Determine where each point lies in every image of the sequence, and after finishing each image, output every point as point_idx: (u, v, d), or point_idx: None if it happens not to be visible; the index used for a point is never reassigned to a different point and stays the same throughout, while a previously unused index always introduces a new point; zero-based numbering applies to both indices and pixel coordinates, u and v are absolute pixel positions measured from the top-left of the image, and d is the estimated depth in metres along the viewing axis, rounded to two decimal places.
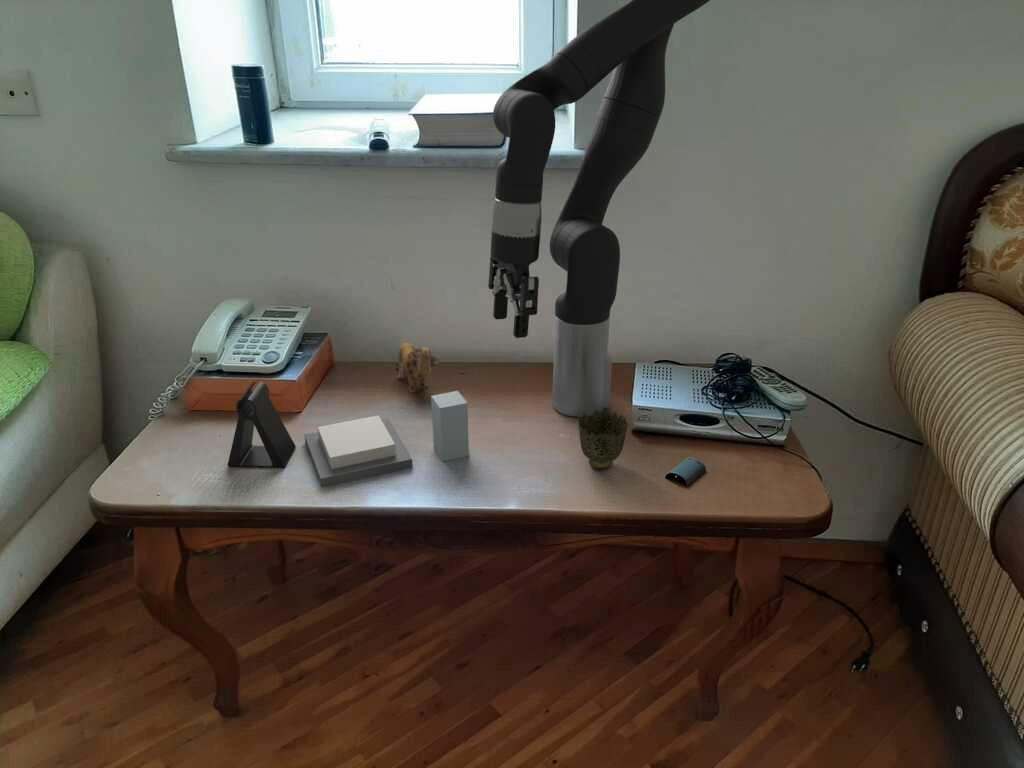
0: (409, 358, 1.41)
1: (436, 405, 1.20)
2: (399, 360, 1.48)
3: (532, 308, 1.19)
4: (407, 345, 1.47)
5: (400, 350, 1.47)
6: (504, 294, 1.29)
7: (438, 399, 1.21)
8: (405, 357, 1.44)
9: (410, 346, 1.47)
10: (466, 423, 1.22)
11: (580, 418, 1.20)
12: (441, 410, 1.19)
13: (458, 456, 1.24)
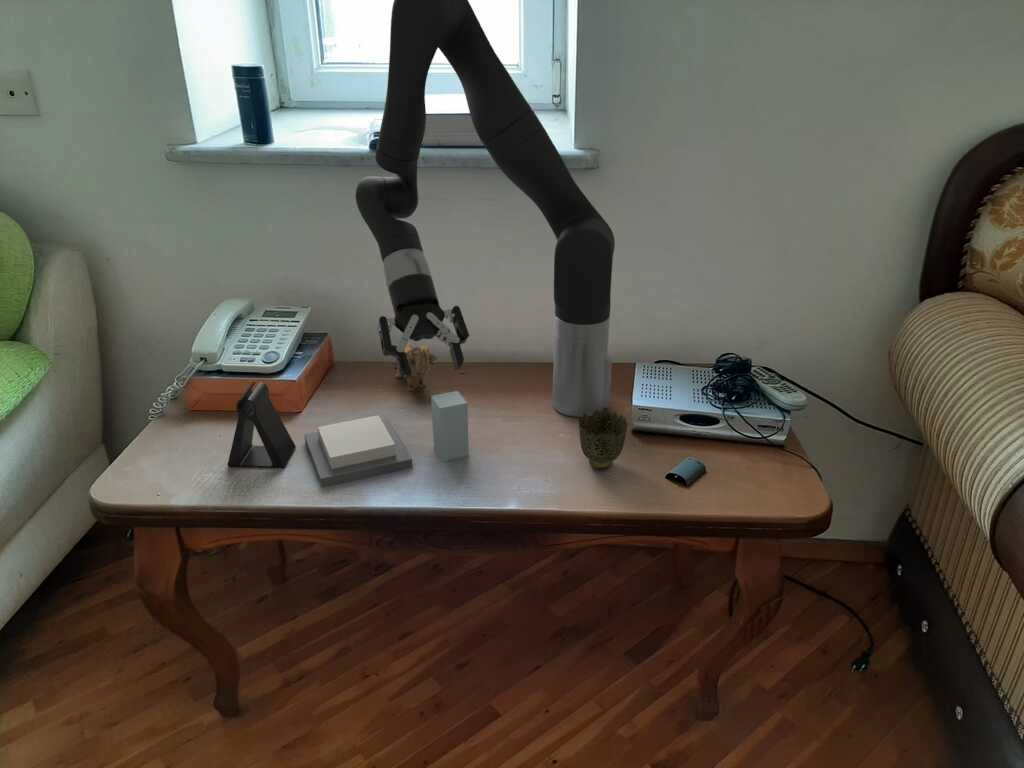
0: (408, 357, 1.42)
1: (436, 405, 1.20)
2: None
3: None
4: None
5: None
6: (451, 343, 1.29)
7: (438, 399, 1.21)
8: None
9: (408, 345, 1.47)
10: (466, 423, 1.22)
11: (580, 418, 1.20)
12: (441, 410, 1.19)
13: (458, 456, 1.24)
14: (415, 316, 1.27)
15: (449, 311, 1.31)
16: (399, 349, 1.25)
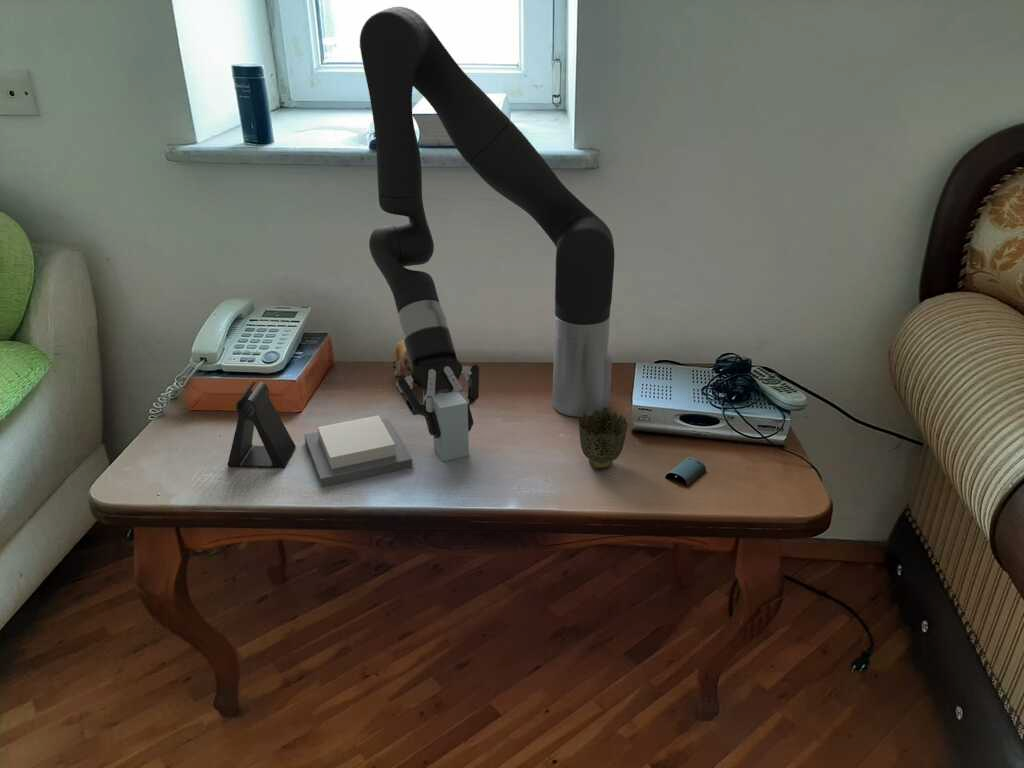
0: (407, 355, 1.42)
1: (436, 405, 1.20)
2: (396, 357, 1.49)
3: None
4: None
5: (397, 347, 1.48)
6: None
7: (438, 399, 1.21)
8: (402, 354, 1.45)
9: None
10: (466, 423, 1.22)
11: (580, 418, 1.20)
12: (441, 410, 1.19)
13: (458, 456, 1.24)
14: (432, 370, 1.23)
15: (468, 368, 1.27)
16: (429, 409, 1.22)
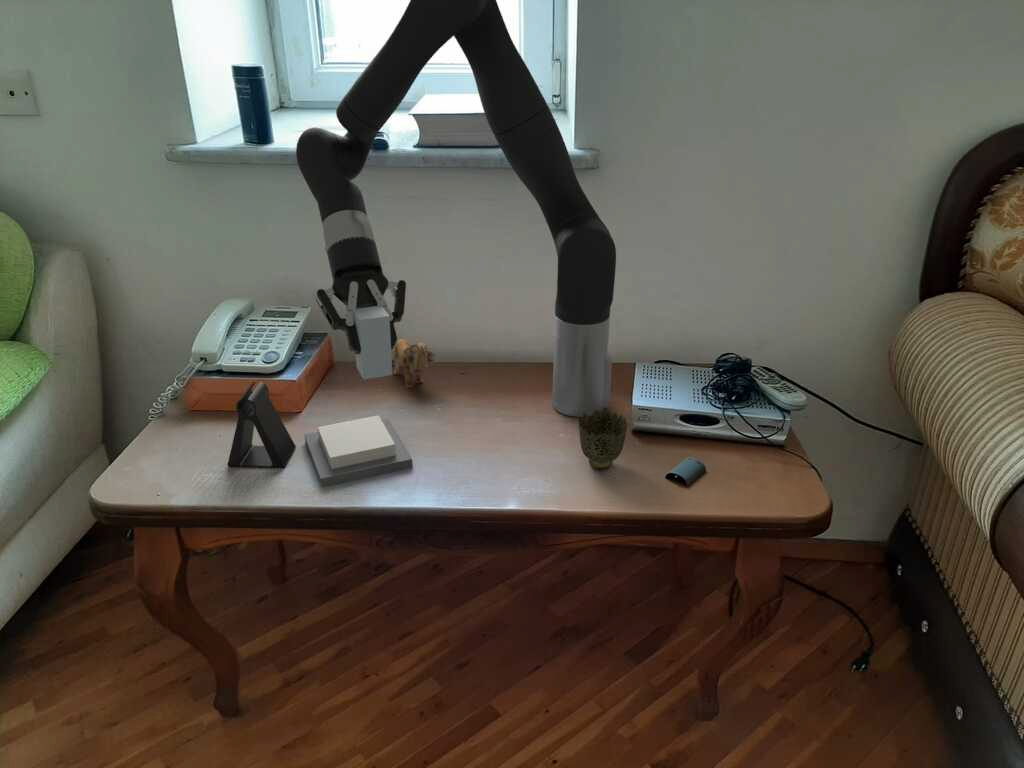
0: (405, 354, 1.43)
1: (356, 318, 1.13)
2: (395, 356, 1.49)
3: None
4: (403, 341, 1.48)
5: (396, 346, 1.48)
6: None
7: (359, 312, 1.14)
8: (401, 353, 1.46)
9: (406, 342, 1.48)
10: (388, 338, 1.15)
11: (580, 418, 1.20)
12: (360, 322, 1.12)
13: (380, 375, 1.17)
14: (354, 283, 1.16)
15: (394, 284, 1.20)
16: (349, 323, 1.15)
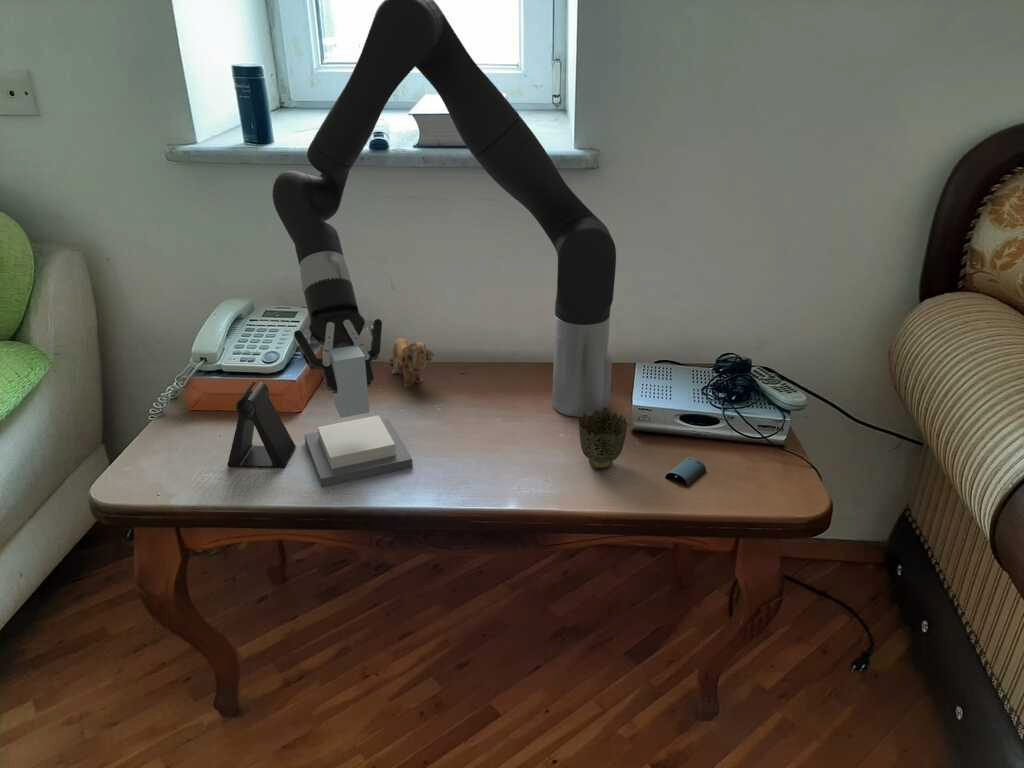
0: (404, 353, 1.43)
1: (332, 358, 1.16)
2: (394, 355, 1.50)
3: None
4: (401, 340, 1.49)
5: (395, 345, 1.49)
6: None
7: (335, 352, 1.17)
8: (400, 352, 1.46)
9: (404, 341, 1.49)
10: (364, 378, 1.17)
11: (580, 418, 1.20)
12: (336, 363, 1.14)
13: (358, 413, 1.19)
14: (330, 323, 1.19)
15: (370, 322, 1.22)
16: (326, 363, 1.17)
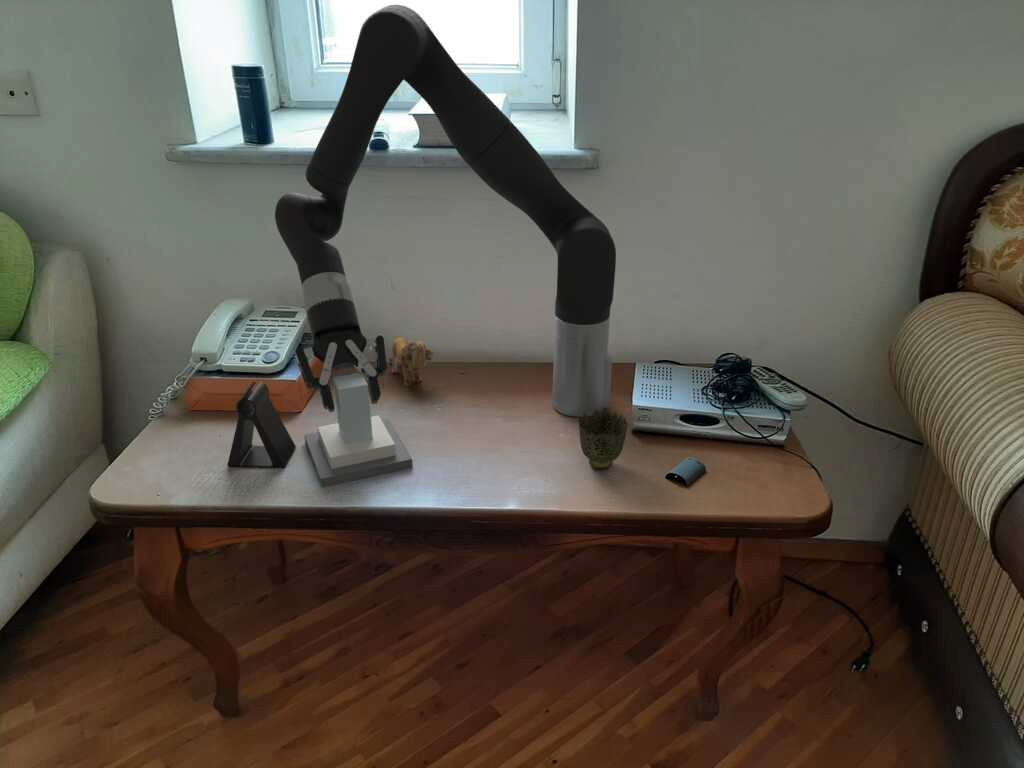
0: (404, 352, 1.43)
1: (336, 386, 1.18)
2: (393, 355, 1.50)
3: None
4: (401, 340, 1.49)
5: (394, 345, 1.49)
6: (367, 375, 1.21)
7: (339, 380, 1.19)
8: (399, 351, 1.46)
9: (404, 341, 1.49)
10: (368, 405, 1.19)
11: (580, 418, 1.20)
12: (339, 392, 1.17)
13: (361, 439, 1.22)
14: (333, 344, 1.20)
15: (372, 340, 1.24)
16: (322, 382, 1.18)
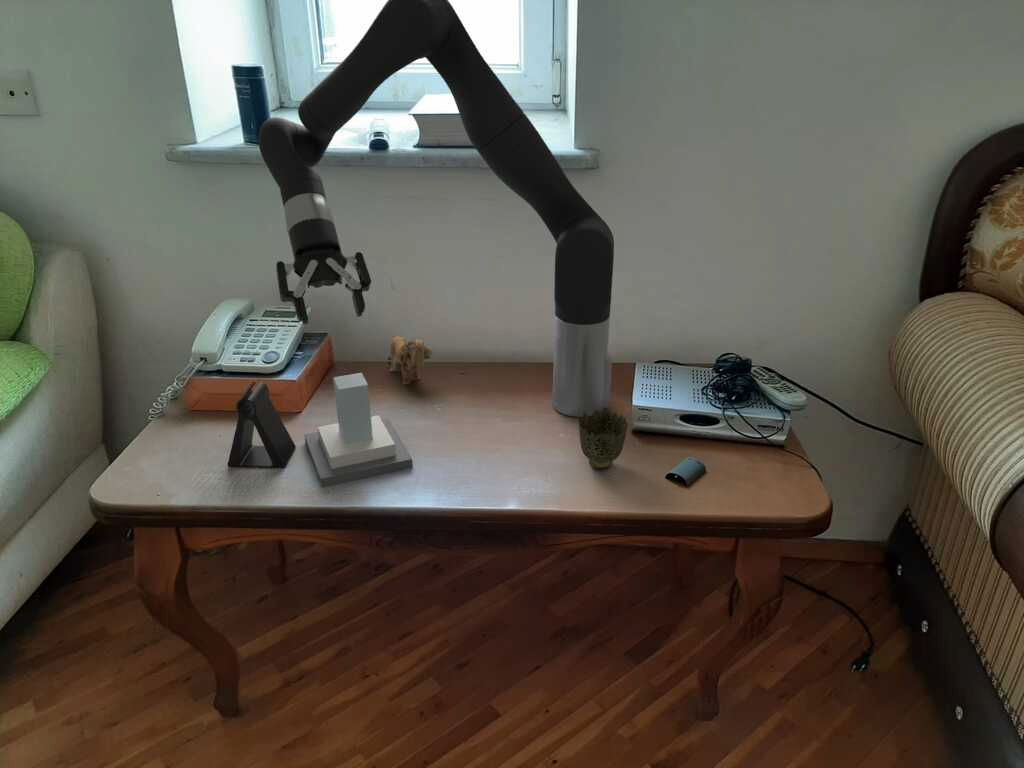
0: (403, 351, 1.44)
1: (336, 386, 1.18)
2: (392, 353, 1.50)
3: None
4: (399, 338, 1.49)
5: (393, 343, 1.49)
6: (353, 289, 1.26)
7: (339, 380, 1.19)
8: (398, 350, 1.47)
9: (402, 339, 1.50)
10: (368, 405, 1.19)
11: (580, 418, 1.20)
12: (339, 392, 1.17)
13: (361, 439, 1.22)
14: (314, 261, 1.24)
15: (352, 258, 1.28)
16: (296, 294, 1.22)
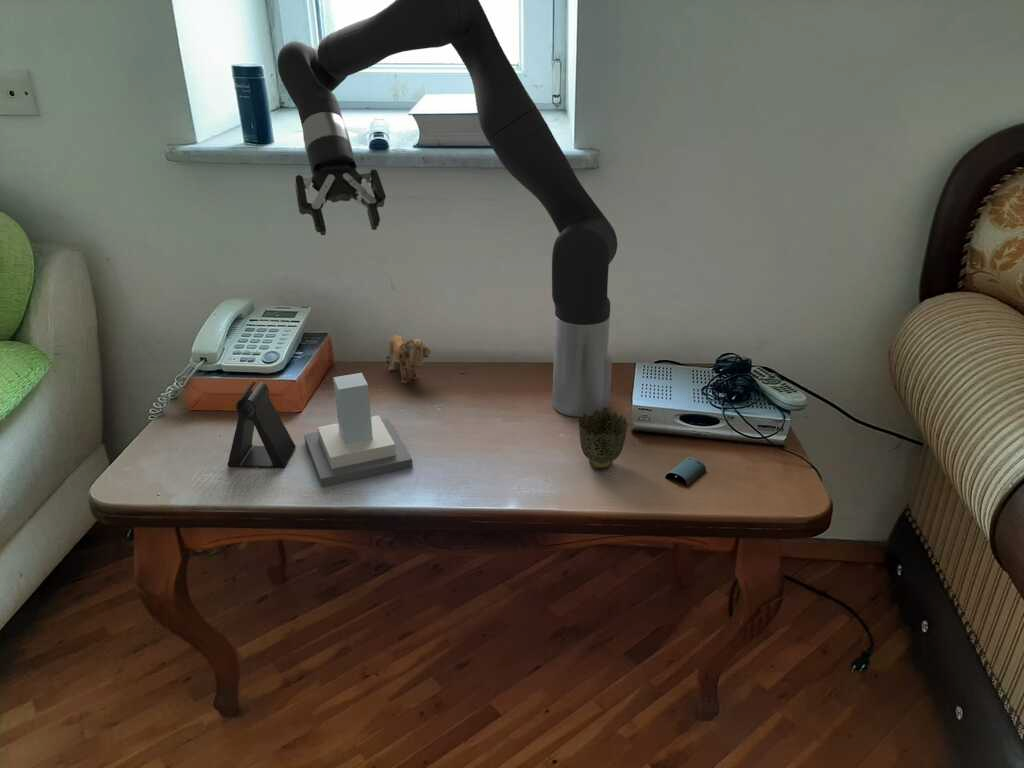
0: (401, 350, 1.44)
1: (336, 386, 1.18)
2: (390, 352, 1.51)
3: None
4: (398, 337, 1.50)
5: (391, 342, 1.50)
6: (368, 204, 1.31)
7: (339, 380, 1.19)
8: (397, 349, 1.47)
9: (401, 338, 1.50)
10: (368, 405, 1.19)
11: (580, 418, 1.20)
12: (339, 392, 1.17)
13: (361, 439, 1.22)
14: (331, 176, 1.30)
15: (367, 175, 1.33)
16: (314, 206, 1.28)
